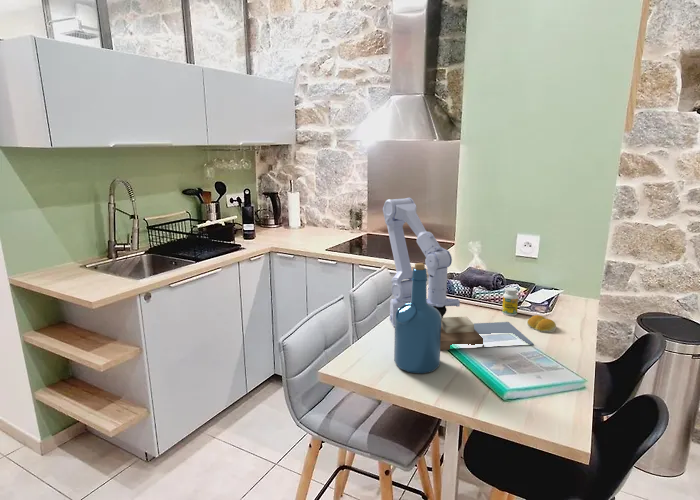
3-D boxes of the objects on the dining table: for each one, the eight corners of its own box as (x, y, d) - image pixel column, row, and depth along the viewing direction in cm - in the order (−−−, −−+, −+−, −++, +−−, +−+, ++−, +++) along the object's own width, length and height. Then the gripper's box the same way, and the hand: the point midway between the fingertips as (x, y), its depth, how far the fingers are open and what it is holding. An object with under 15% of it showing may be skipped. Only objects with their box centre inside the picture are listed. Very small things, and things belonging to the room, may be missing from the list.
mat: (484, 347, 139) (484, 346, 139) (464, 325, 157) (464, 323, 157) (533, 345, 141) (533, 343, 141) (508, 323, 158) (508, 321, 158)
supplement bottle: (516, 311, 169) (518, 287, 167) (517, 316, 164) (519, 291, 162) (501, 310, 171) (503, 286, 168) (501, 315, 166) (503, 290, 163)
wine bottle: (419, 349, 138) (421, 255, 131) (450, 367, 127) (454, 265, 121) (383, 361, 131) (384, 262, 124) (413, 380, 120) (416, 273, 113)
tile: (446, 333, 143) (446, 325, 142) (440, 324, 150) (440, 317, 149) (473, 331, 144) (474, 324, 143) (466, 323, 151) (466, 316, 150)
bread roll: (546, 335, 149) (547, 324, 148) (523, 326, 156) (524, 315, 155) (561, 329, 153) (562, 318, 152) (538, 321, 160) (539, 310, 159)
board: (438, 350, 138) (439, 341, 137) (423, 327, 155) (424, 319, 155) (482, 347, 139) (483, 338, 139) (463, 325, 157) (463, 317, 156)
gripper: (418, 292, 138) (417, 333, 141) (463, 290, 140) (461, 331, 143) (412, 285, 145) (411, 324, 148) (456, 283, 146) (454, 322, 150)
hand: (435, 327), depth 146 cm, fingers closed
